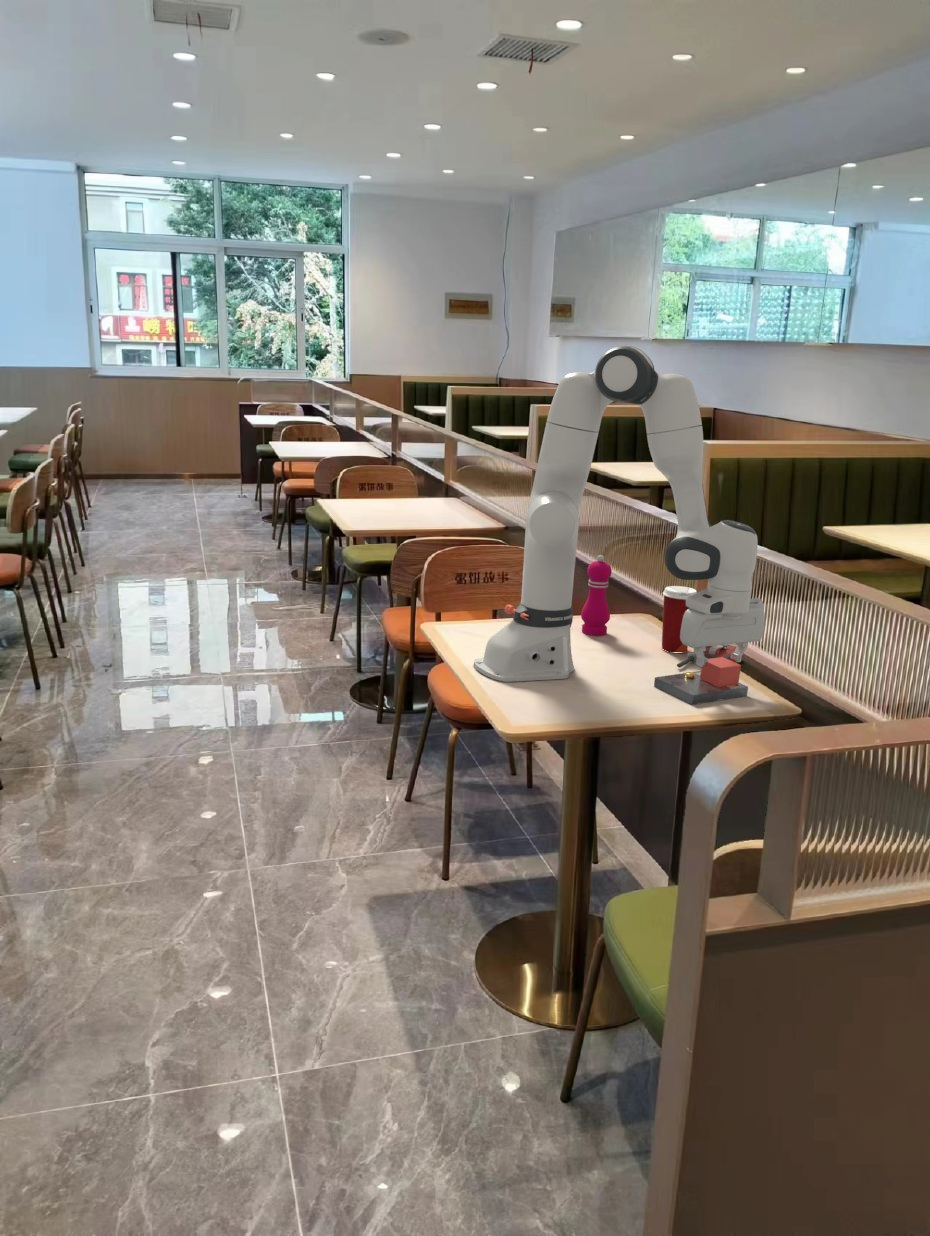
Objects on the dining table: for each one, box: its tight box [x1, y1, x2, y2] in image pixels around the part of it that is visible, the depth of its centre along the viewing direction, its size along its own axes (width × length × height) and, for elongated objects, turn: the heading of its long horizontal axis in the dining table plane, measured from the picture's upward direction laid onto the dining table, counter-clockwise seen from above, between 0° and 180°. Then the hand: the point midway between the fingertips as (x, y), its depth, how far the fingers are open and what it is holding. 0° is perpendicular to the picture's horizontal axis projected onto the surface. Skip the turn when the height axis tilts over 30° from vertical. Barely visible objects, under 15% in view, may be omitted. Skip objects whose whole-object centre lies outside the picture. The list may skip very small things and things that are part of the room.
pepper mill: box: [580, 554, 612, 637], centre depth 240 cm, size 7×7×20 cm
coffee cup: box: [661, 585, 698, 653], centre depth 230 cm, size 8×8×15 cm
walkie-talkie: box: [676, 644, 737, 668], centre depth 222 cm, size 9×4×20 cm
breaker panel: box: [653, 670, 749, 705], centre depth 202 cm, size 15×12×3 cm
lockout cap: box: [700, 657, 742, 687], centre depth 202 cm, size 6×6×4 cm
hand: (718, 663), depth 202 cm, fingers open, 8 cm apart
